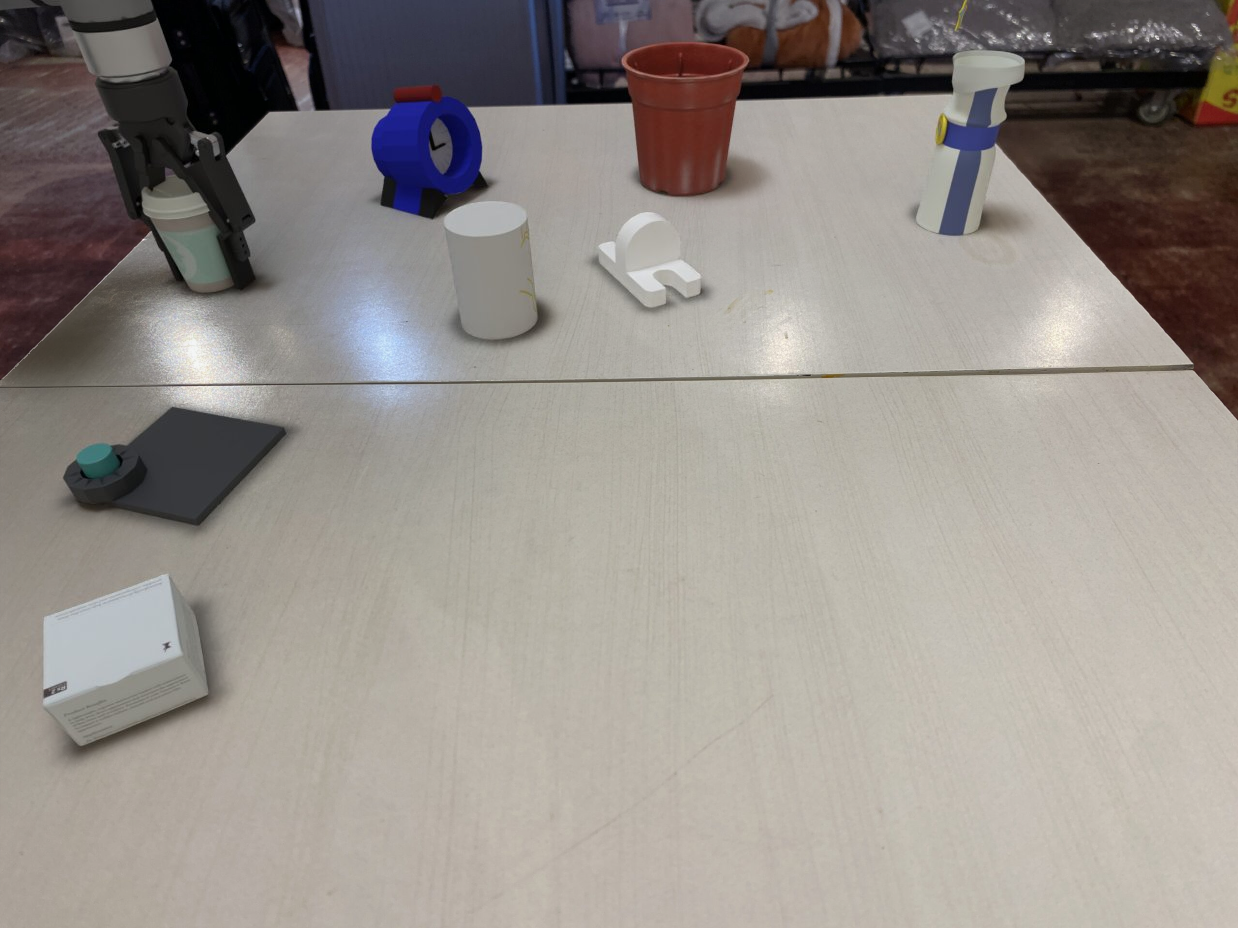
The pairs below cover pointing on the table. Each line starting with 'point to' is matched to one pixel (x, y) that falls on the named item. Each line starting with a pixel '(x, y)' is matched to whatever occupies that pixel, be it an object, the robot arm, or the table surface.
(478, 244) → the cup
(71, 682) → the small box
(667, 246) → the slotted bracket
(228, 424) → the scale
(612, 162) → the table surface
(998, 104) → the water bottle
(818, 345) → the table surface
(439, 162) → the alarm clock
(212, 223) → the coffee cup
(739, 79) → the flower pot
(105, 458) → the button
